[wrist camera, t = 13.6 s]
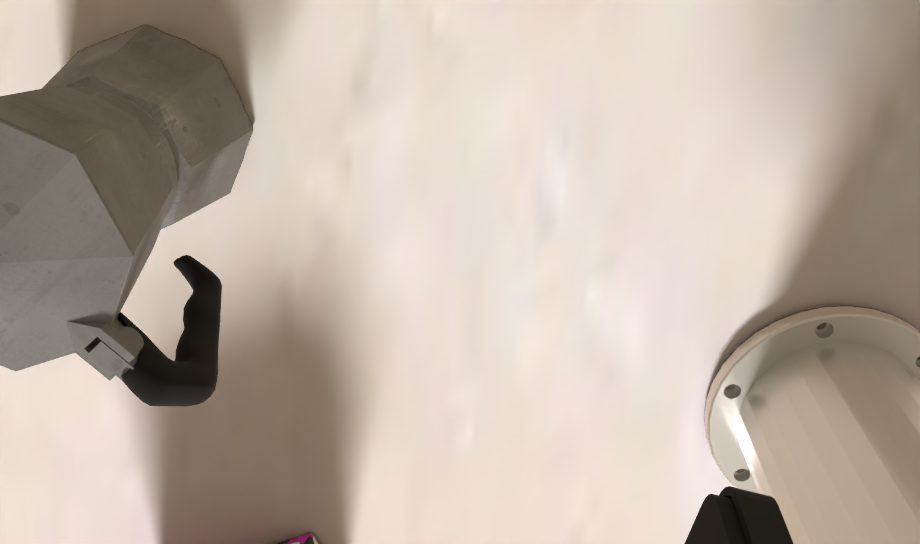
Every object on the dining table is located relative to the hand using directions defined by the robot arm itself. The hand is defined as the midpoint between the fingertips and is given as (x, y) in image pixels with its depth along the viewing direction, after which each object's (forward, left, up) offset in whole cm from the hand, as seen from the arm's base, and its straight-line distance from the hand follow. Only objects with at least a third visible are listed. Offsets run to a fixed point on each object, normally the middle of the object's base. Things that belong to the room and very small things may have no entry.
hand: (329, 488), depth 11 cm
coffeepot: (+12, +9, -32) cm, 35 cm away
